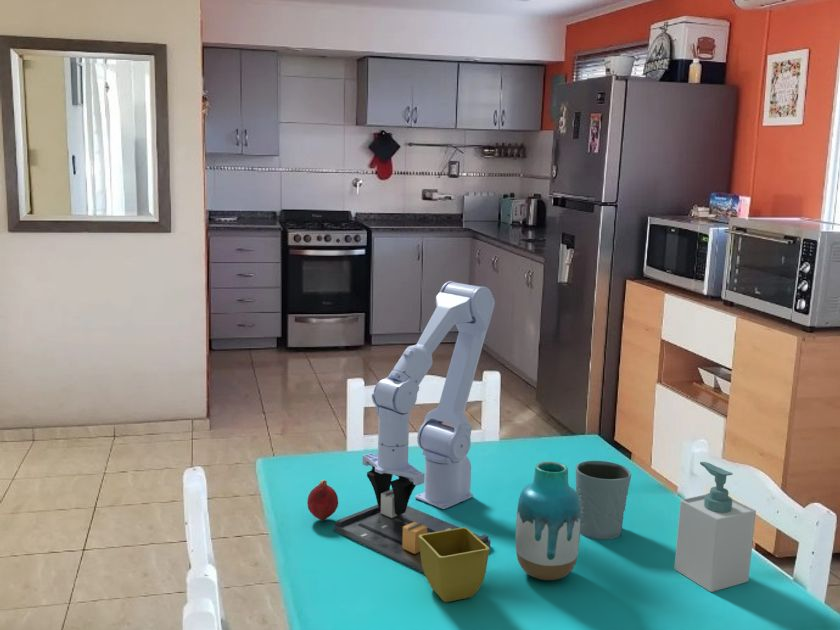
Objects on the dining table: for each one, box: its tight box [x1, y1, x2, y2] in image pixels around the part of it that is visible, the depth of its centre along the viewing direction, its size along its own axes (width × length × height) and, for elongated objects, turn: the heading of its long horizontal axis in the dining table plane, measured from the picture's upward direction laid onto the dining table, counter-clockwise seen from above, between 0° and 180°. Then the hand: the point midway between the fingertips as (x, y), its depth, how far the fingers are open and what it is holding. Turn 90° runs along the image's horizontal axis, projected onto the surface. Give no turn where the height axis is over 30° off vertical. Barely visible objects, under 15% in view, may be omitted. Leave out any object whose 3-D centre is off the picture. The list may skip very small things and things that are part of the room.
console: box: [333, 503, 491, 575], centre depth 158 cm, size 16×24×2 cm, turn 47°
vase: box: [515, 461, 581, 581], centre depth 145 cm, size 11×11×19 cm
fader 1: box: [381, 488, 398, 518], centre depth 165 cm, size 3×3×4 cm
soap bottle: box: [673, 461, 757, 593], centre depth 146 cm, size 9×9×19 cm
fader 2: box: [402, 522, 427, 554], centre depth 151 cm, size 3×3×4 cm
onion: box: [306, 479, 339, 521], centre depth 164 cm, size 6×6×8 cm
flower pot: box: [419, 526, 490, 603], centre depth 139 cm, size 9×9×9 cm
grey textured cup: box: [575, 460, 632, 541], centre depth 163 cm, size 10×10×12 cm
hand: (391, 509), depth 166 cm, fingers open, 4 cm apart
